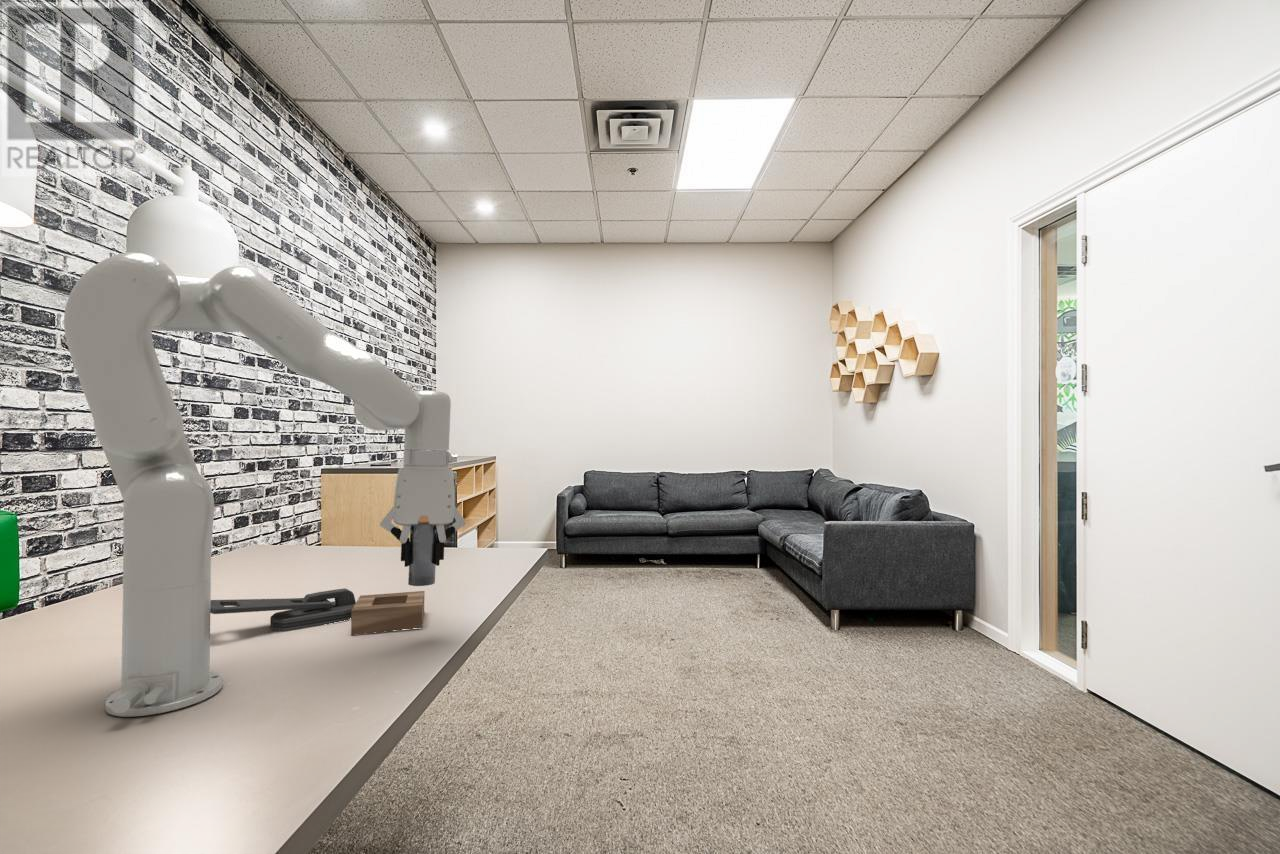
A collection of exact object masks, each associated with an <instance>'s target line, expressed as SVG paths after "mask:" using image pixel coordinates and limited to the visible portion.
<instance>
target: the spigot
mask: <svg viewBox="0 0 1280 854" xmlns="http://www.w3.org/2000/svg"><path fill="white" fill-rule="evenodd" d="M417 523H418V524H416V525H414V526H411V528H410V533H409V538H410V540H409V541H410V559H409V566H408V583H407V584H408V586H413V587H425V586H432V585H434V584H435V583H436V568H437V566H436V565H435V553H436V541H437V538H438V532H437V527H436V525H431V524H429V523H430V521H429V519H428V516H420V518H419V520H418V522H417Z"/></svg>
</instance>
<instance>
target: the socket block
mask: <svg viewBox="0 0 1280 854" xmlns="http://www.w3.org/2000/svg"><path fill="white" fill-rule="evenodd" d="M423 617H424V618H425V590H418V591H408V592H407V591H404V592H396V593H395V592H393V593H392V592H390V593H379V594H378V593H377V594H366V595H365V594H361V595H360V596H359V597H358V599H357V600H356V604H355V605H354V607H353V609H352V610H351V620H350V621H351V623H350V626H351V627H350V628H351V631H350V635H352V636H356V635H355V634H363V635H365V634H364V633H374V632H384V631H393V630H402V629H413V628H422V629H423V625H422V624H424V619H423ZM374 634H375V633H374Z"/></svg>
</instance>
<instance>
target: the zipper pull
mask: <svg viewBox="0 0 1280 854" xmlns="http://www.w3.org/2000/svg"><path fill="white" fill-rule="evenodd" d="M330 599H331V600H332V599H334V601H330ZM356 602H357V600H356V598H355V594H354V593H353V591H352V590H350V589H348V588H346V587H345V588H338V589H330V590H324V591H317V592H312V593H308V594H306V595H305V596H303V597H293V598H291V597H290V598H250V599H249V598H247V599H246V598H245V599H211V606H210V614H212V615H223V614H238V613H239V614H240V613H241V614H242V613H255V612H256V613H257V612H269V611H277V612H274V613H273V614H272V615H271V616H270V621H269V623H270V624H269V625H270V626H269V627H270V630H271V631H275V632H282V633H283V632H290V631H297V630H302V629H309V628H314V627H320V626H325V625H324V624H327V625H330V624H329V623H333V624H335V623H334V622H339V621H344V620H348V619H350V618H351V610H352V609H353V607H354V605H355V604H356ZM348 621H349V620H348ZM339 623H340V622H339Z"/></svg>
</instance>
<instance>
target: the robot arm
mask: <svg viewBox="0 0 1280 854" xmlns="http://www.w3.org/2000/svg"><path fill="white" fill-rule="evenodd" d="M65 304H66V305H65V308H64V314H63V326H64V335H65V340H66V344H67V347H68V352H69V355H70V357H71V360H72V363H73V366H74V369H75V371H76V374H77V377H78V381H79V384H80V386H81V389H82V391H83V394H84V396H85V397H84V398H85V399H86V402H87V405H88V406H89V407H88V408H89V410H90V413H91V417H92V420H93V427H94V433H95V435H96V438H97V440H98V442H100V445H101V448H102V450H103V452H104V455H105V458H106V460H107V462H108V465H109V468H110V471H111V472H112V475H113V477H114V480H115V482H116V485H117V487H118V489H119V493H120V495H121V497H122V499H123V512H122V513H123V514H122V520H123V522H122V523H123V525H122V526H123V534H122V535H123V539H122V540H123V545H122V546H123V549H122V551H123V553H122V555H123V559H122V626H121V627H122V631H121V632H122V633H121V674H120V675H121V677H120V678H121V680H120V681H121V683H120V684H121V685H120V687H121V688H120V689H119V690H117V691H115V692H113V693H112V694H111V695H109V696H108V697H107V698H106V699H105V703H104V704H105V705H104V709H105V710H104V711H105V712H106V713H107V714H109V715H112V716H115V717H122V718H124V717H125V718H126V717H129V718H130V717H131V718H133V717H143V716H144V717H145V716H151V715H152V716H153V715H157V714H163V713H167V712H168V713H169V712H172V711H176V710H179V709H182V708H183V709H184V708H186V707H190V706H193V705H195V704H197V703H200V702H202V701H205V700H207V699H209V698H211V697H212V696H214V695H216V694H217V693H219V691H220V690H221V689H222V688H223V685H224V678H223V676H222V674H219V673H217V672H212V671H210V668H211V667H210V665H211V664H210V663H211V662H210V661H211V659H210V658H211V653H210V652H211V613H210V606H211V600H212V599H211V598H212V597H211V596H212V595H211V593H212V591H211V590H212V589H211V588H212V575H211V574H212V543H213V530H214V529H213V528H214V519H215V518H214V517H215V499H214V498H215V497H214V493H213V491H212V488H211V485H210V483H209V482H208V481H207V480H206V478H205V477H204V476H202V475H201V474H200V472H199V470H198V468H197V465H196V462H195V460H194V459H195V458H194V457H193V454H192V451H191V448H190V446H189V444H188V443H189V442H188V440H187V437H186V435H185V432H184V425H185V424H184V420H183V415H182V414H181V412H180V410H179V408H178V406H177V405H176V403H175V401H174V399H173V396H172V394H171V392H170V389H169V387H168V384H167V382H166V379H165V376H164V374H163V371H162V368H161V364H160V361H159V358H158V355H157V352H156V349H155V346H154V342H153V335H152V333H153V332H152V331H156V332H157V331H158V332H159V331H161V332H167V331H168V332H191V333H193V332H194V333H195V332H196V333H197V332H198V333H237V332H240V333H241V334H243V335H244V336H245V337H247V338H248V339H250V340H251V341H253V342H254V343H255V344H256V345H258V346H259V347H260V348H261V349H263V350H264V351H265V352H267V353H268V354H270V355H271V356H272V357H273V358H274V359H276V360H277V361H278V362H280V363H281V364H283V366H285V367H286V368H287V369H289V370H290V371H292V372H294V373H296V374H298V375H300V376H302V377H305V378H308V379H311V380H314V381H318V382H319V383H323V384H325V385H327V386H329V387H331V388H333V389H334V390H336V391H338V392H340V393H341V394H343V395H344V396H345V397H347V398H349V399H350V400H352V401H353V402H354V404H353V413H354V416H355V418H356V420H357V421H358V422H359V423H360V424H361V425H362V426H363V427H365V428H367V429H369V430H373V431H391V430H392V431H393V430H394V431H395V430H404V442H403V444H404V446H403V464H402V465H403V467H400V468H398V471H397V476H396V477H397V478H396V481H395V489H394V496H393V497H394V498H393V506H392V508H391V509H390V510H389V511H388V513H387V514H386V515H385V516H384V518H383V519H382V520H381V521H380V523H379V525H380V527H382V528H383V529H385V530H386V531H388V532H389V533H390V534H392V536H394V537H395V538H396V539H397V540H398V541H399V542H400V544H401V545H400V561H401V562H404V568H407V567H408V568H409V559H410V528H411V526H414V525H416V524H418V523H417V522H418V520H419V518H420V516H428V519H429V521H430V523H429V524H431V525H436V527H437V541H436V553H435V565H436V567H437V566H440V562H441V561H444V560H445V542H446V541H447V540H448V539H449V538H450V537H452V535H453V534H455V532H457V531H458V530H460V529H462V528H463V527H464V526H466V525H467V522H466V519H465V518H464V517H463V515H462V513H460V511H459V509H458V508H457V507H456V495H455V492H456V488H455V475H454V471H453V468H449V464H451V463H457V462H458V454H454V453H451V452H449V451H450V433H451V432H450V430H451V429H450V428H451V426H450V425H451V408H452V407H451V405H452V404H451V397H450V395H449V394H447V393H446V392H443V391H439V390H427V389H426V390H424V389H423V390H413V388H411V386H410V385H409V384H408V383H406V381H404V380H403V379H402V378H401V377H400V376H398V375H397V374H396V373H394V372H393V371H392V370H391V368H389V367H388V366H387V365H385V364H383V363H382V362H381V361H380V360H379V359H377V358H376V357H374V356H373V355H371V353H370V354H369V353H368V352H366V351H365V350H363V349H361V348H360V347H358V346H356V345H354V343H352V342H350V341H349V340H347V339H345V338H343V337H342V336H340V335H338V334H336V333H334V332H333V331H332V330H331V329H329V328H328V327H327V326H325V325H324V324H322V322H320V321H319V320H318V319H317V318H315V317H314V315H311V314H310V313H309V312H308V311H307V310H306V309H304V307H302V306H300V304H298V303H297V302H296V301H295V300H294V299H292V298H291V297H290V296H288V295H287V293H285V292H284V291H282V290H281V289H280V288H279V287H278V286H277V285H275V284H274V283H273V282H272V281H270V280H269V279H268V278H267V277H266V276H264V275H263V274H261V273H260V272H258V271H256V270H254V269H253V268H250V267H247V266H243V265H242V266H241V265H240V266H239V265H238V266H237V265H236V266H235V265H234V266H230V267H226V268H223V269H222V270H220V271H219V272H217V273H215V274H214V276H212V277H197V276H195V277H194V276H181V275H176V274H175V272H174V271H173V270H172V269H171V267H169V265H167V264H166V263H165V262H163V261H162V260H161V259H160V258H157V257H155V256H152V255H150V254H147V253H141V252H132V251H131V252H123V253H117V254H114V255H111V256H109V257H107V258H105V259H103V260H101V261H99V262H98V263H96V264H95V265H93V266H92V267H90V268H89V269H88V270H87V271H85V273H84V274H82V276H80V278H79V279H77V281H76V283H75V284H74V285H73V288H72V289H71V290H70V293H69V296H68V297H67V301H66V303H65ZM454 519H455V522H453V521H454ZM392 520H393V522H394V524H393V523H392ZM452 523H453V524H452ZM395 524H396V525H398V526H402V530H401V529H400V528H399V527H398V526H396V525H395ZM449 524H451V525H450V526H448V527H447V528H445V526H446V525H449Z"/></svg>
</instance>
